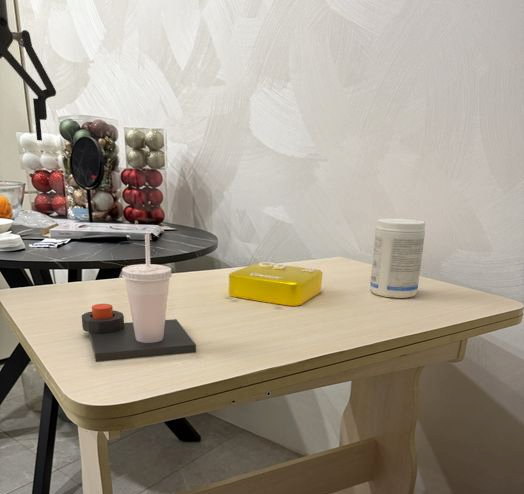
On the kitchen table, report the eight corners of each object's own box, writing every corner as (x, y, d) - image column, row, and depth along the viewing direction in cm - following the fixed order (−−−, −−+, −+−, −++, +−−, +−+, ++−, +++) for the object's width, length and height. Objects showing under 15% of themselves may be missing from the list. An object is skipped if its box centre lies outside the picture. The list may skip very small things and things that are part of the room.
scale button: (93, 321, 73) (92, 309, 72) (91, 315, 75) (91, 304, 75) (114, 320, 74) (113, 308, 73) (111, 314, 76) (111, 302, 76)
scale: (88, 363, 65) (87, 340, 64) (82, 330, 77) (80, 311, 76) (196, 352, 70) (196, 331, 69) (174, 323, 82) (174, 305, 81)
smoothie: (178, 332, 74) (176, 233, 69) (166, 347, 68) (163, 240, 63) (134, 329, 75) (129, 230, 70) (118, 344, 69) (112, 237, 64)
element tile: (224, 296, 99) (225, 271, 98) (257, 281, 112) (258, 259, 111) (298, 307, 94) (299, 281, 92) (323, 291, 107) (325, 267, 105)
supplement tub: (423, 293, 108) (434, 221, 103) (406, 302, 101) (417, 224, 96) (380, 285, 113) (388, 216, 108) (360, 293, 106) (368, 219, 101)
